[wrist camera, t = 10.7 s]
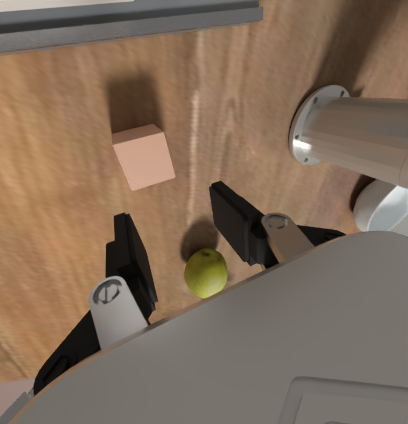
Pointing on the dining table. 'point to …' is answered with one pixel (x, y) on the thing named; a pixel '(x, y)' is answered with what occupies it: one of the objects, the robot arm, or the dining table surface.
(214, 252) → the apple
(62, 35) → the track
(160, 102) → the dining table surface
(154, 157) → the block
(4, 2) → the cart
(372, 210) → the cereal bowl
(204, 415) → the robot arm
